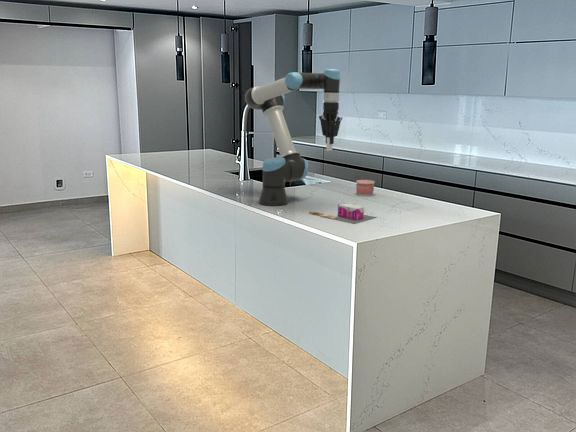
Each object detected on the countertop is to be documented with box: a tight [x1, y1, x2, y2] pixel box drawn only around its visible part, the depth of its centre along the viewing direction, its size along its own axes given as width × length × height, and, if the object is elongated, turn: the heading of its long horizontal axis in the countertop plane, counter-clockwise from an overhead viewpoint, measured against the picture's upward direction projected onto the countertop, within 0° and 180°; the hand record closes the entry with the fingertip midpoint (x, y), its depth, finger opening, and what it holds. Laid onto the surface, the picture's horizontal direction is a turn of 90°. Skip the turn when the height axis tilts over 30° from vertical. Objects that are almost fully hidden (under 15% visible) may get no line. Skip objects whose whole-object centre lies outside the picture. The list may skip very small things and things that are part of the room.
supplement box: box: [337, 202, 365, 220], centre depth 261 cm, size 6×6×12 cm
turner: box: [308, 210, 338, 220], centre depth 264 cm, size 16×3×1 cm, turn 48°
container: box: [355, 179, 376, 197], centre depth 318 cm, size 10×10×8 cm
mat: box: [332, 214, 378, 225], centre depth 261 cm, size 13×18×1 cm
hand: (329, 150), depth 275 cm, fingers closed
